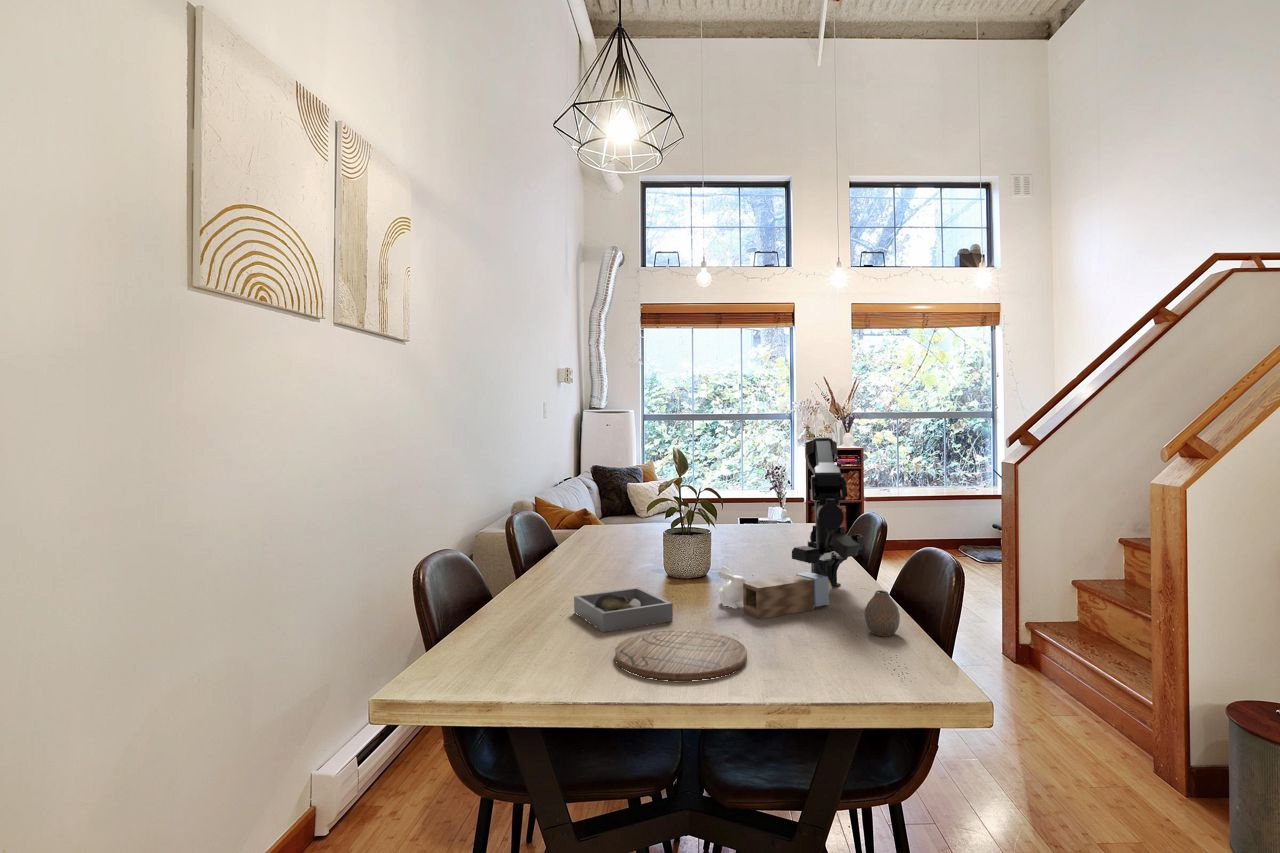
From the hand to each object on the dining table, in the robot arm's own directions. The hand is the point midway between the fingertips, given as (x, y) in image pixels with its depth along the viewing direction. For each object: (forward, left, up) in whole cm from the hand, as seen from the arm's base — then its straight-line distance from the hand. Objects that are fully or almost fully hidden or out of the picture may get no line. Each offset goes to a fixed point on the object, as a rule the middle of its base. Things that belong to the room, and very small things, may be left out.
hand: (829, 585), depth 170 cm
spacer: (0, -5, -3) cm, 6 cm away
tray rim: (-14, -49, -4) cm, 52 cm away
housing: (0, -15, -4) cm, 16 cm away
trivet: (+16, -51, -5) cm, 54 cm away
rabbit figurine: (-10, -23, -4) cm, 25 cm away
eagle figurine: (-11, -52, -4) cm, 53 cm away
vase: (+24, -7, -4) cm, 25 cm away
